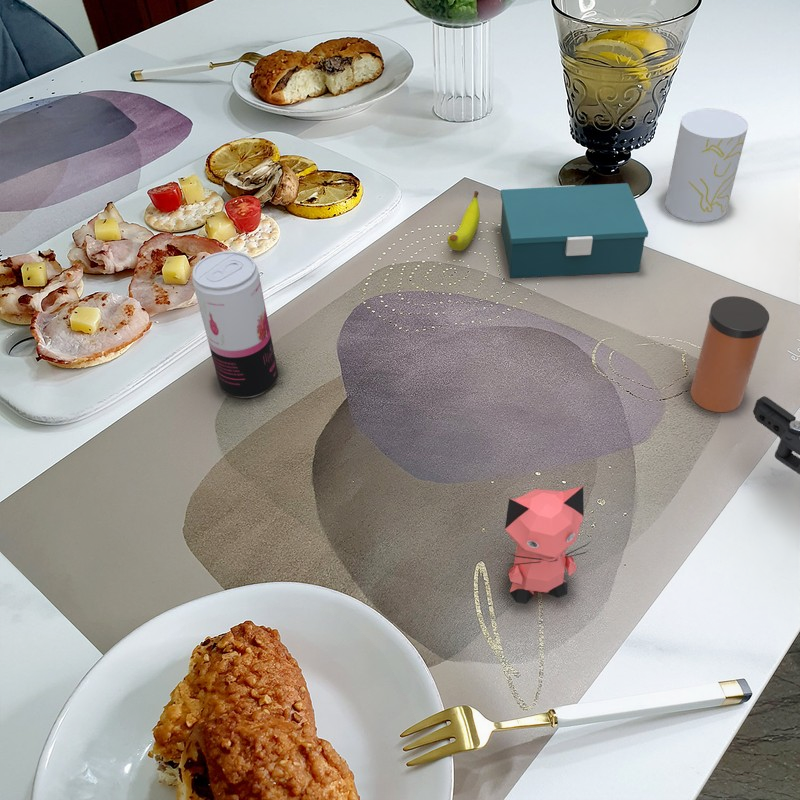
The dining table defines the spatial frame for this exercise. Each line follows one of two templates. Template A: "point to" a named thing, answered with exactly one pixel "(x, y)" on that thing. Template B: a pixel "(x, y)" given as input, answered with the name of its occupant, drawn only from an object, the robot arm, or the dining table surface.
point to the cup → (705, 164)
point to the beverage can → (236, 323)
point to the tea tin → (728, 353)
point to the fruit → (466, 227)
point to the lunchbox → (572, 230)
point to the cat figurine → (543, 540)
